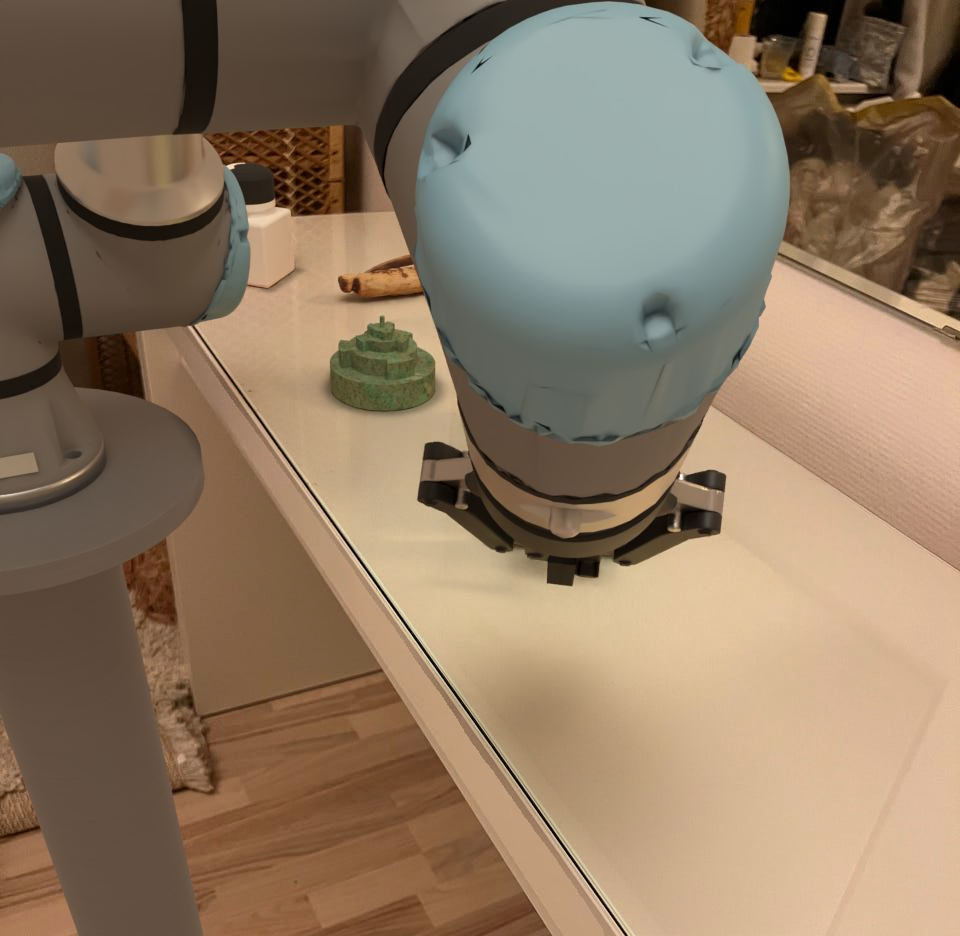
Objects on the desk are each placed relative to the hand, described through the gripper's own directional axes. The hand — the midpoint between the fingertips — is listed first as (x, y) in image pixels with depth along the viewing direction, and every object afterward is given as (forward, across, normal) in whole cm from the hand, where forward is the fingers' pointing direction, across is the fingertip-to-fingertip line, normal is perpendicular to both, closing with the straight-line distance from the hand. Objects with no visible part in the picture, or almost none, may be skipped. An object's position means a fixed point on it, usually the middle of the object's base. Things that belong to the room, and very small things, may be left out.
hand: (562, 561), depth 57 cm
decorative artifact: (+35, -19, +22) cm, 46 cm away
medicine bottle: (+54, -40, +40) cm, 79 cm away
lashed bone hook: (+54, -22, +41) cm, 72 cm away
